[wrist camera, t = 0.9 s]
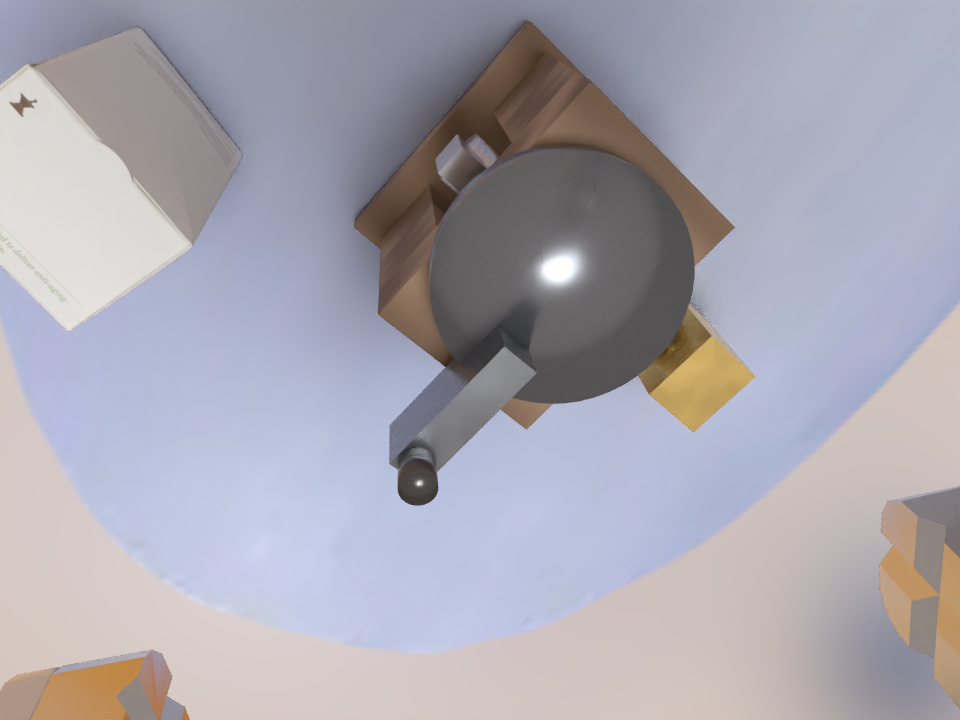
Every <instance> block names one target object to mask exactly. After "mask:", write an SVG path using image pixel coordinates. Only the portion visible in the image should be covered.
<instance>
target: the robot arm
mask: <svg viewBox="0 0 960 720" xmlns="http://www.w3.org/2000/svg"><path fill="white" fill-rule="evenodd" d="M881 532H882V534H883V535H884V536H886V538H887V539H888V540H889V541H890V542H891V543H892V544H893V546H892V548H891V549H890V551H889V552H888V553H887V554H886V556H885V557H884V559H883V560H882V561H881V563H880V565H879V568H880V569H879V571H880V573H879V579H880V580H879V583H880V584H879V585H880V586H879V587H880V588H879V589H880V592H881V596H882V599H883V602H884V606H885V610H886V613H887V615H888V616H889V618H890V620H891V622H892V624H893V626H894V628H895V629H896V631H897V632H898V633H899V635H900V636H901V637H902V638H903V639H904V641H905V642H906V644H907V645H908V646H909V647H911V648H913V649H915V650H917V651H919V652H921V653H924V654H926V655H928V656H930V657H932V658H934V659H935V662H934V674H933V675H934V676H933V677H934V678H935V679H936V681H937V682H938V683H939V684H940V685H941V687H942V688H943V689H944V690H945V691H946V693H947V694H948V695H949V696H950V697H951V698H952V700H953V701H954V702H955V704H956V705H957V706H958V707H959V708H960V486H958V487H953V488H948V489H944V490H939V491H934V492H929V493H924V494H919V495H915V496H910V497H905V498H901V499H896V500H891V501H887V504H886V506H885V508H884V510H883V512H882V523H881ZM171 680H172V675H171V672H170V670H169V668H168V666H167V664H166V662H165V659H164V657H163V655H162V654H161V653H159V652H157V651H154V650H148V651H143V652H137V653H131V654H125V655H120V656H114V657H109V658H103V659H98V660H92V661H86V662H81V663H76V664H70V665H64V666H62V667H59V668H51V669H45V670H40V671H35V672H30V673H24V674H19V675H16V676H14V677H13V678H12V679H10V680H9V681H8V682H6V683H5V684H4V685H3V687H2V688H1V690H0V720H190V719H189V717H188V714H187V712H186V709H185V707H184V706H182V705H181V704H179V703H177V702H176V701H174V700H172V699H171V698H169V697H168V696H167V694H168V690H169V687H170V683H171Z"/></svg>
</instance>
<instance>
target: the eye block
mask: <svg viewBox="0 0 960 720" xmlns="http://www.w3.org/2000/svg"><path fill="white" fill-rule="evenodd" d="M457 134H458V135H459V136H460V137H461V138H462V139H463V140H464V141H466V140H467V139H468V138H469V137H471V136H472V135H474V134H477V135H478V136H480V137H481V138H482V139H483V140H484V141H485V142H486V143H487V144H488V145H489V146H490V147H491V148H493V149H494V150H495V151H496V152H497V153H498V154H499V155H500V157H499V158H498V159H497V160H496V161H495V162H494V163H493V164H495V163H496V162H498V161H500V160H502V159H503V158H505V157H508V156H510V155H513V154H515V153H517V152H520V151H523V150H526V149H530V148H534V147H538V146H544V145H552V144H579V145H586V146H593V147H596V148H600V149H603V150H607V151H610V152H612V153H614V154H616V155H619V156H621V157H623V158H625V159H627V160H628V161H630V162H631V163H633V164H634V165H636V166H638V167H639V168H640V169H641V170H642V171H644V172H645V173H646V174H647V175H648V176H649V177H651V178H652V179H653V180H654V181H655V182H656V183H658V184H659V185H660V186H661V187H662V188H663V189H664V191H665V192H666V193H667V194H668V195H669V196H670V197H671V199H672V200H673V201H674V203H675V205H676V206H677V208H678V209H679V211H680V212H681V214H682V216H683V219H684V221H685V223H686V225H687V228H688V231H689V234H690V238H691V241H692V246H693V253H694V266H696V265H697V264H698V263H699V262H700V261H701V260H702V259H703V258H704V257H705V256H706V255H707V254H708V253H709V252H710V251H711V250H712V249H713V248H714V247H715V246H716V245H717V244H718V243H719V242H720V241H721V240H722V239H723V238H724V237H725V236H726V235H727V234H728V233H730V232H731V231H732V230H733V229H734V228H735V227H734V226H733V225H732V224H731V223H730V222H729V221H728V220H727V219H726V218H725V217H724V216H723V215H722V214H721V213H720V212H719V211H718V210H717V209H716V208H715V207H714V206H713V205H712V204H711V203H710V201H709V200H708V199H707V198H706V197H705V196H704V195H703V194H702V193H701V192H700V191H699V190H698V189H697V188H696V187H695V186H694V185H693V184H692V183H691V182H690V181H689V180H688V179H687V178H686V177H685V176H684V175H683V174H682V173H681V172H680V171H679V170H678V169H677V168H676V167H675V166H674V165H673V164H672V163H671V162H670V161H669V160H668V159H667V158H666V157H665V156H664V155H663V154H662V153H661V152H660V151H659V150H658V149H657V148H656V147H655V146H654V145H653V144H652V143H651V142H650V141H649V139H648V138H647V137H646V136H645V135H644V134H643V133H642V132H641V131H640V130H639V129H638V128H637V127H636V126H635V125H634V124H633V123H632V122H631V121H630V120H629V119H628V118H627V117H626V116H625V115H624V114H623V113H622V112H621V111H620V110H619V109H618V108H617V107H616V106H615V105H614V104H613V103H612V102H611V101H610V100H609V99H608V98H607V97H606V96H605V95H604V94H603V93H602V92H601V91H600V90H599V89H598V88H597V87H596V86H595V85H594V84H593V83H592V82H591V81H590V80H589V79H587V78H586V77H585V76H584V75H583V74H582V73H581V72H580V71H579V70H578V69H577V68H576V67H575V66H574V65H573V64H572V63H571V62H570V61H569V60H568V59H567V58H566V57H565V56H564V55H563V54H562V53H561V52H560V51H559V50H558V49H557V48H556V47H555V46H554V45H553V44H552V43H551V42H550V41H549V40H548V39H547V38H546V37H545V36H544V35H543V34H542V33H541V32H540V30H539V29H538V28H537V27H536V26H535V25H534V24H533V23H531V22H529V21H527V22H526V23H525V24H524V25H523V26H522V28H521V29H520V30H519V31H518V32H517V33H516V35H515V36H514V37H513V38H512V39H511V40H510V41H509V43H508V44H507V45H506V46H505V47H504V48H503V50H502V51H501V52H500V53H499V54H498V55H497V56H496V58H495V59H494V60H493V61H492V62H491V63H490V65H489V66H488V67H487V68H486V69H485V70H484V71H483V73H482V74H481V75H480V76H479V77H478V78H477V79H476V81H475V82H474V83H473V84H472V85H471V86H470V88H469V89H468V90H467V91H466V92H465V93H464V94H463V96H462V97H461V98H460V99H459V100H458V101H457V103H456V104H455V105H454V106H453V107H452V108H451V109H450V111H449V112H448V113H447V114H446V115H445V116H444V118H443V119H442V120H441V121H440V122H439V123H438V124H437V126H436V127H435V128H434V129H433V130H432V131H431V133H430V134H429V135H428V136H427V137H426V138H425V139H424V141H423V142H422V143H421V144H420V145H419V146H418V147H417V149H416V150H415V151H414V152H413V153H412V154H411V156H410V157H409V158H408V159H407V160H406V161H405V162H404V164H403V165H402V166H401V167H400V168H399V169H398V171H397V172H396V173H395V174H394V175H393V176H392V177H391V179H390V180H389V181H388V182H387V183H386V184H385V186H384V187H383V188H382V189H381V190H380V191H379V192H378V194H377V195H376V196H375V197H374V198H373V199H372V201H371V202H370V203H369V204H368V205H367V206H366V207H365V209H364V210H363V211H362V212H361V213H360V214H359V215H358V217H357V218H356V219H355V224H354V227H355V228H356V229H357V230H358V231H359V232H361V233H362V234H363V235H364V236H366V237H367V238H368V239H369V240H371V241H372V242H373V243H374V244H375V245H377V246H378V247H379V248H380V249H381V257H380V281H379V305H378V315H379V316H381V317H382V318H383V319H385V320H386V321H387V322H388V323H390V324H391V325H392V326H394V327H395V328H396V329H398V330H399V331H400V332H401V333H403V334H404V335H405V336H407V337H408V338H409V339H410V340H412V341H413V342H414V343H416V344H417V345H418V346H419V347H421V348H422V349H423V350H425V351H426V352H427V353H428V354H430V355H431V356H432V357H434V358H435V359H436V360H437V361H439V362H440V363H441V364H443V365H444V366H445V367H446V366H447V365H448V364H449V363H450V362H451V361H452V360H453V359H454V357H453V356H452V354H451V353H450V351H449V350H448V348H447V347H446V345H445V343H444V342H443V340H442V337H441V335H440V333H439V331H438V328H437V326H436V322H435V319H434V315H433V312H432V305H431V298H430V289H429V262H430V254H431V249H432V245H433V242H434V238H435V234H436V232H437V230H438V227H439V225H440V223H441V220H442V218H443V217H444V215H445V213H446V211H447V210H448V208H449V206H450V205H451V203H452V202H453V201H454V199H455V198H456V197H457V196H458V194H457V193H456V192H454V191H453V190H452V189H451V188H450V187H449V186H448V185H446V184H445V183H444V182H443V181H442V180H441V179H440V178H439V174H438V170H437V165H436V160H435V159H436V158H437V157H438V155H439V154H440V153H441V152H442V151H443V150H444V149H445V147H446V146H447V145H448V144H449V143H450V142H451V141H452V139H453V138H454V137H455V136H456V135H457ZM493 164H492V165H493ZM551 405H552V404H545V403H535V402H528V401H524V400H519V399H515V398H511V399H510V400H509V401H508V402H507V403H506V404H505V405H504V406H503V407H502V408H501V410H502V411H503V412H504V413H506V414H507V415H508V416H510V417H511V418H512V419H514V420H515V421H516V422H517V423H519V424H520V425H521V426H523V427H524V428H525V429H526V430H527V429H528V428H529V427H530V426H531V425H532V424H533V423H534V422H535V421H536V420H537V419H538V418H539V417H540V416H541V415H542V414H543V413H544V412H545V411H546V410H547V409H548V408H549V407H550V406H551Z"/></svg>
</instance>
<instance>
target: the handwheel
mask: <svg viewBox="0 0 960 720" xmlns="http://www.w3.org/2000/svg"><path fill="white" fill-rule="evenodd" d="M693 283H694V253H693V246H692V241H691V238H690V234H689V231H688V228H687V225H686V223H685V221H684V219H683V216H682V214H681V212H680V211H679V209H678V208H677V206H676V205H675V203H674V201H673V200H672V199H671V197H670V196H669V195H668V194H667V193H666V192H665V191H664V189H663V188H662V187H661V186H660V185H659V184H658V183H656V182H655V181H654V180H653V179H652V178H651V177H649V176H648V175H647V174H646V173H645V172H644V171H642V170H641V169H640V168H639V167H638V166H636V165H634V164H633V163H631V162H630V161H628V160H627V159H625V158H623V157H621V156H619V155H616V154H614V153H612V152H610V151H607V150H603V149H600V148H596V147H593V146H586V145H579V144H552V145H544V146H538V147H534V148H530V149H526V150H523V151H520V152H517V153H515V154H513V155H510V156H508V157H505V158H503V159H502V160H500V161H498V162H496V163H495V164H493V165H491V166H489V167H488V168H487V169H485V170H484V171H483V172H481V173H480V174H479V175H477V176H476V177H475V178H474V179H473V180H472V181H471V182H470V183H469V184H468V185H467V186H465V187H464V188H463V189H462V191H461V192H460V193H459V194H458V196H457V197H456V198H455V199H454V201H453V202H452V203H451V205H450V206H449V208H448V210H447V211H446V213H445V215H444V217H443V218H442V220H441V223H440V225H439V227H438V230H437V232H436V234H435V238H434V242H433V245H432V249H431V254H430V262H429V289H430V298H431V305H432V312H433V315H434V319H435V322H436V326H437V328H438V331H439V333H440V335H441V337H442V340H443V342H444V343H445V345H446V347H447V348H448V350H449V351H450V353H451V354H452V356H453V357H454V359H453V360H452V361H451V362H450V363H449V364H448V365H447V366H446V368H445V369H444V370H443V371H442V372H441V373H440V374H439V375H438V376H437V377H436V378H435V379H434V380H433V381H432V382H431V383H430V384H429V385H428V386H427V387H426V388H425V389H424V390H423V391H422V392H421V393H420V394H419V395H418V397H417V398H416V399H415V400H414V401H413V402H412V403H411V404H410V405H409V406H408V407H407V408H406V409H405V410H404V411H403V412H402V413H401V414H400V415H399V416H398V417H397V418H396V419H395V420H394V421H393V422H392V423H391V424H390V457H389V464H391V465H392V466H393V467H395V468H396V469H398V493H399V496H400V497H401V499H402V500H403V501H405V502H406V503H408V504H411V505H424V504H427V503H429V502H430V501H432V500H433V499H434V498H435V497H436V495H437V492H438V479H437V472H438V471H439V470H440V469H441V468H442V467H443V466H444V465H445V464H446V463H447V462H448V461H449V460H450V459H451V458H452V457H453V456H454V455H455V454H456V453H457V452H458V451H459V450H460V449H461V448H462V447H463V446H464V445H465V444H466V443H467V442H468V441H469V440H470V439H471V438H472V437H473V436H474V435H475V434H476V433H477V432H478V431H479V430H480V429H481V428H482V427H483V426H484V425H485V424H486V423H487V422H488V421H489V420H490V419H491V418H492V417H493V416H494V415H495V414H496V413H497V412H498V411H499V410H500V409H501V408H502V407H503V406H504V405H505V404H506V403H507V402H508V401H509V400H510V399H511V398H515V399H519V400H524V401H528V402H535V403H545V404H557V403H570V402H577V401H582V400H586V399H590V398H594V397H597V396H599V395H602V394H605V393H607V392H610V391H612V390H614V389H616V388H618V387H620V386H622V385H624V384H626V383H627V382H629V381H630V380H632V379H633V378H635V377H636V376H638V375H639V374H640V373H642V372H643V371H644V370H645V369H646V368H647V367H649V366H650V365H651V364H652V363H653V362H654V361H655V360H656V359H657V358H658V357H659V356H660V355H661V354H662V353H663V351H664V350H665V349H666V347H667V346H668V345H669V343H670V342H671V341H672V339H673V338H674V336H675V334H676V333H677V331H678V329H679V327H680V326H681V324H682V321H683V319H684V317H685V314H686V312H687V309H688V306H689V303H690V299H691V295H692V290H693Z"/></svg>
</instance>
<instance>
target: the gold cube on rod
mask: <svg viewBox="0 0 960 720" xmlns="http://www.w3.org/2000/svg"><path fill="white" fill-rule="evenodd" d="M499 157H500V155H499V154H498V153H497V152H496V151H495V150H494V149H493V148H491V147H490V146H489V145H488V144H487V143H486V142H485V141H484V140H483V139H482V138H481V137H480V136H478V135H477V134H474V135H472V136H471V137H469V138H468V139H467V140H466V141H464V140H463V139H462V138H461V137H460V136H459V135H458V134H457V135H456V136H455V137H454V138H453V139H452V141H451V142H450V143H449V144H448V145H447V146H446V147H445V149H444V150H443V151H442V152H441V153H440V154H439V155H438V157H437V158H436V159H435V160H436V165H437V170H438V174H439V178H440V179H441V180H442V181H443V182H444V183H445V184H446V185H448V186H449V187H450V188H451V189H452V190H453V191H454V192H456V193H457V194H459V193H460V192H461V191H462V189H463V188H464V187H465V186H467V185H468V184H469V183H470V182H471V181H472V180H473V179H474V178H475V177H476V176H477V175H479V174H480V173H481V172H483V171H484V170H485V169H487V168H488V167H489V166H491V165H492V164H493V163H494V162H495V161H496V160H497V159H498V158H499ZM638 376H639V378H640V379H641V381H642V383H643V385H644V386H645V388H646V390H647V392H648V393H649V395H650V396H651V397H653V398H654V399H655V400H656V401H657V402H658V403H660V404H661V405H662V406H663V407H664V408H665V409H667V410H668V411H669V412H670V413H671V414H672V415H674V416H675V417H676V418H677V419H678V420H679V421H681V422H682V423H683V424H684V425H685V426H686V427H688V428H689V429H690V430H691V431H692V432H693V433H694V432H695V431H696V430H697V429H698V428H699V427H700V426H701V425H702V424H703V423H705V422H706V421H707V420H708V419H709V418H710V417H711V416H712V415H713V414H715V413H716V412H717V411H718V410H719V409H720V408H721V407H722V406H723V405H725V404H726V403H727V402H728V401H729V400H730V399H731V398H732V397H733V396H735V395H736V394H737V393H738V392H739V391H740V390H741V389H742V388H743V387H744V386H746V385H747V384H748V383H749V382H750V381H751V380H752V379H753V378H754V377H755V376H754V374H753V373H752V372H751V371H750V370H749V368H748V367H747V366H746V365H745V364H744V363H743V361H742V360H741V359H740V358H739V357H738V356H737V354H736V353H735V352H734V351H733V350H732V349H731V347H730V346H729V345H728V344H727V343H726V342H725V340H724V339H723V338H722V337H721V336H720V334H719V333H718V332H717V331H716V330H715V329H714V327H713V326H712V325H711V324H710V323H709V322H708V320H707V319H706V318H705V317H704V316H703V315H702V314H701V313H700V312H698V311H697V310H696V309H695V308H694V307H693V306H692V305H691V304H690V303H689V306H688V309H687V312H686V314H685V317H684V319H683V321H682V324H681V326H680V327H679V329H678V331H677V333H676V334H675V336H674V338H673V339H672V341H671V342H670V343H669V345H668V346H667V347H666V349H665V350H664V351H663V353H662V354H661V355H660V356H659V357H658V358H657V359H656V360H655V361H654V362H653V363H652V364H651V365H650V366H649V367H647V368H646V369H645V370H644V371H643V372H642V373H640V374H639V375H638Z"/></svg>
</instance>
